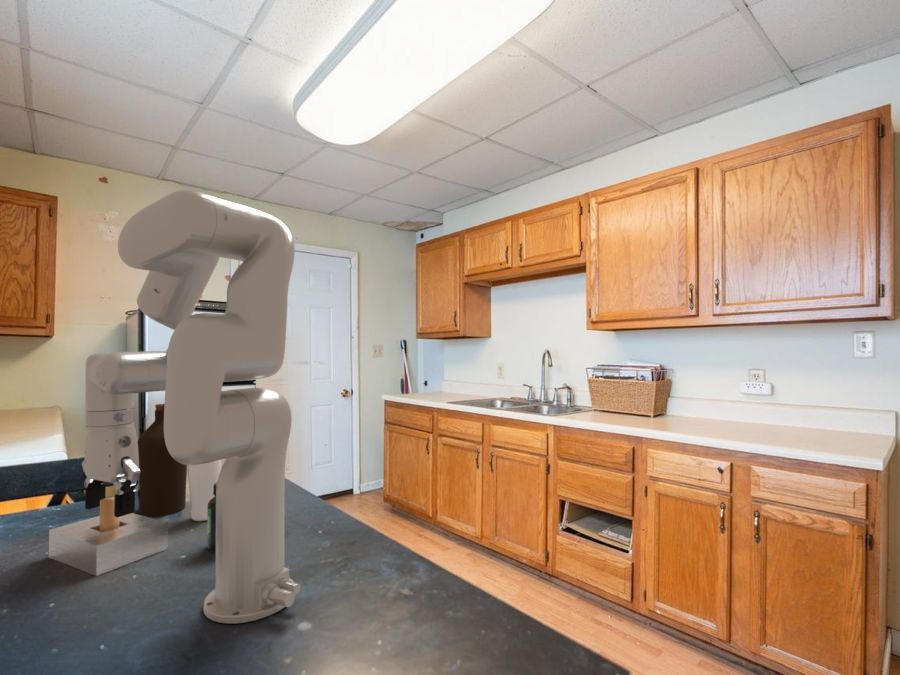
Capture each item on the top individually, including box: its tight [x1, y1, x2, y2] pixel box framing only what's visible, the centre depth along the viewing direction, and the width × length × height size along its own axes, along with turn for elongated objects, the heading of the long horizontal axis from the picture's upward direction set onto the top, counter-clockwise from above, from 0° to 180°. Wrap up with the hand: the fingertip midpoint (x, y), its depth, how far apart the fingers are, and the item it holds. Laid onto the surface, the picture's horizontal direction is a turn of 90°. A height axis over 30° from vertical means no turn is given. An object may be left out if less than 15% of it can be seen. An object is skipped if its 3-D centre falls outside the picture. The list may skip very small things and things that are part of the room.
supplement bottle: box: [206, 483, 217, 553], centre depth 91 cm, size 7×7×12 cm
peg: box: [99, 496, 119, 532], centre depth 88 cm, size 3×3×10 cm
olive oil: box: [137, 403, 188, 518], centre depth 112 cm, size 11×11×25 cm
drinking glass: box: [187, 459, 223, 522], centre depth 106 cm, size 7×7×15 cm
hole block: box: [48, 512, 169, 577], centre depth 88 cm, size 16×12×5 cm
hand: (109, 510), depth 88 cm, fingers open, 9 cm apart
